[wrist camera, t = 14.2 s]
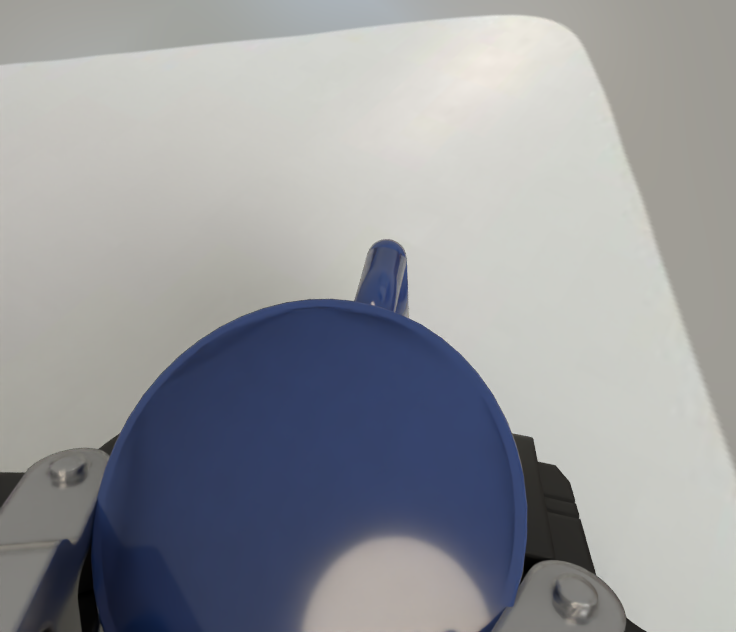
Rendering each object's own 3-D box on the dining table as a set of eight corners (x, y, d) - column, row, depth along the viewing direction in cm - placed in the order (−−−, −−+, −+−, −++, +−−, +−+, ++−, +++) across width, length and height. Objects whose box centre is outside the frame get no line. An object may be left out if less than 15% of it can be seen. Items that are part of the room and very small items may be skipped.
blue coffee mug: (453, 689, 12) (504, 867, 5) (226, 620, 13) (0, 684, 6) (491, 367, 16) (552, 205, 9) (314, 337, 17) (239, 171, 10)
